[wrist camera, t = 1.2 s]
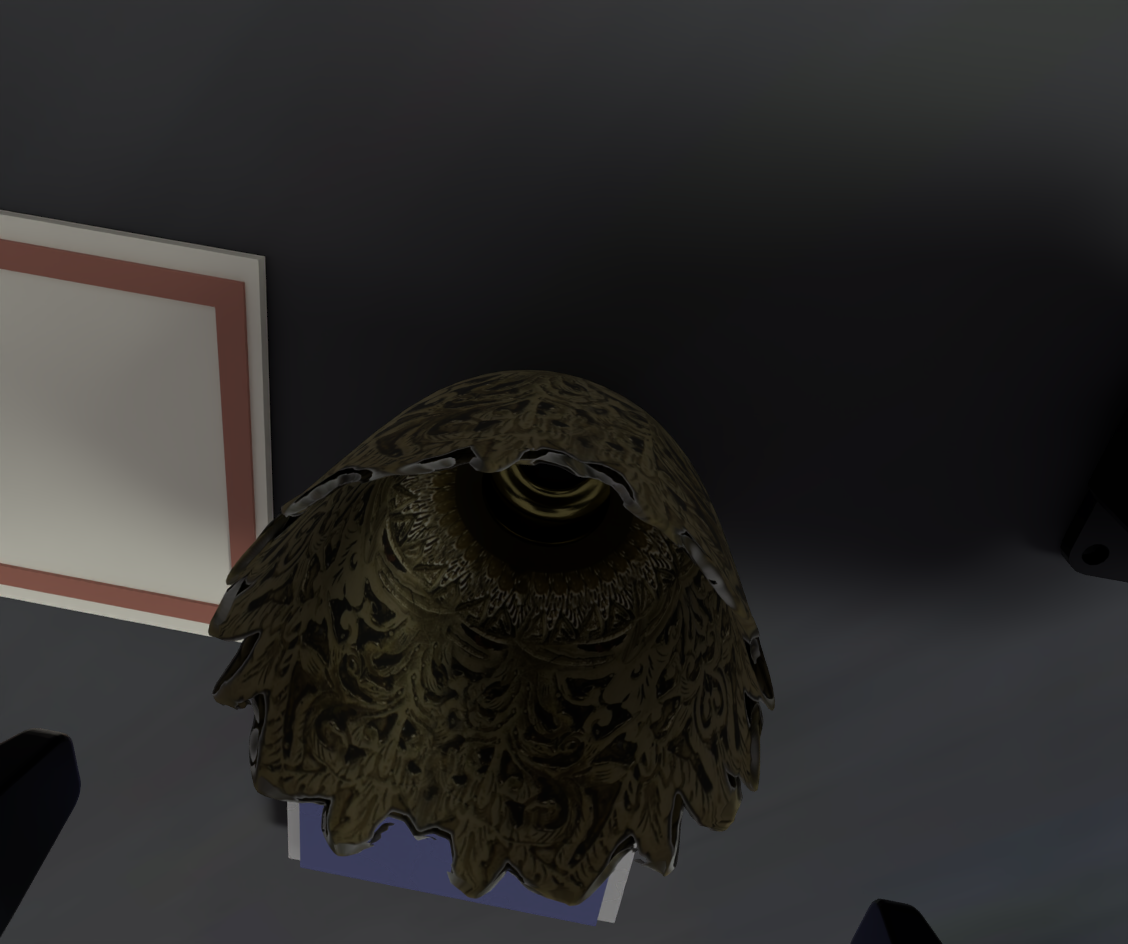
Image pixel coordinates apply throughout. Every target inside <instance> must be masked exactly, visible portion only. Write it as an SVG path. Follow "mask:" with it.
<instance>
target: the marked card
mask: <svg viewBox="0 0 1128 944" xmlns="http://www.w3.org/2000/svg"><path fill="white" fill-rule="evenodd" d="M272 520H273V489H272V458H271V426H270V394H269V363H268V331H267V299H266V268H265V256H260V255H254V254H249V253H243V252H237V251H232V250H226V249H220V248H215V247H209V246H203V245H198V244H192V243H186V242H181V241H175V240H169V239H164V238H158V237H152V236H147V235H141V234H135V233H130V232H124V231H118V230H113V229H107V228H101V227H96V226H90V225H84V224H79V223H73V222H67V221H62V220H56V219H50V218H45V217H39V216H33V215H28V214H22V213H16V212H11V211H5V210H0V596H2V597H7V598H12V599H18V600H23V601H28V602H33V603H38V604H44V605H49V606H54V607H59V608H65V609H70V610H75V611H80V612H85V613H91V614H96V615H101V616H106V617H111V618H117V619H122V620H127V621H132V622H138V623H143V624H148V625H153V626H158V627H164V628H169V629H174V630H179V631H184V632H190V633H195V634H200V635H205V636H210V635H209V634H208V629H209V625H210V621H211V619H212V617H213V616H214V614H215V612H216V610H217V608H218V606H219V604H220V602H221V600H222V598H223V596H224V594H225V592H226V590H227V589H228V588H229V587H230V586H231V585H227V584H226V579H227V576H228V574H229V572H230V571H231V569H232V568H233V566H234V565H235V564H236V562H237V561H238V560H239V559H240V557H241V556H242V555H243V554H244V553H245V552H246V550H247V549H248V548H249V547H250V546H251V545H252V544H253V543H254V542H255V540H256V539H257V538H258V536H259V535H260V534H261V533H262V531H263V530H264V529H265V527H266V526H267V525H268V524H269V523H270V522H271V521H272ZM211 637H212V636H211ZM243 640H244V639H242V640H238V641H237V642H242V641H243Z"/></svg>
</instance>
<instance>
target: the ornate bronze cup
mask: <svg viewBox="0 0 1128 944" xmlns="http://www.w3.org/2000/svg"><path fill="white" fill-rule="evenodd" d="M538 463H544V464H549V465H553V466H558V467H561V468H563V469H565V470H567V471H568V472H570V473H571V474H573V475H575V476H578V477H585V478H584V479H583V480H582V481H581V482H579V483H578V484H576V485H574V486H571V487H568V488H562V489H555V488H549V487H545V486H542V485H540V484H538V483H536V482H535V481H533V480H532V479H531V478H530V477H529V476H528V475H527V474H526V473H525V472H524V470H523V469H522V467H521V464H523V465H537V464H538ZM226 584H227V585H231V586H230V587H229V588H228V589H227V590H226V592H225V594H224V596H223V598H222V600H221V602H220V604H219V606H218V608H217V610H216V612H215V614H214V616H213V617H212V619H211V621H210V625H209V629H208V634H209V635H210V636H212V637H216V638H219V639H222V640H224V641H238V640H242V639H244V640H243V641H242V643H241V646H240V648H239V649H238V652H237V653H236V655H235V656H234V658H233V659H232V661H231V662H230V664H229V665H228V666H227V668H226V669H225V671H224V672H223V674H222V675H221V677H220V679H219V680H218V682H217V683H216V685H215V687H214V690H213V693H212V694H213V697H214V699H215V700H216V702H218V703H220V704H222V705H228V706H230V707H233V708H235V709H237V710H238V708H240V709H241V708H245V707H246V706H247V705H249V704H250V705H251V703H250V701H249V700H248V699H251V698H253V699H252V706H253V710H254V721H253V726H252V730H251V734H250V740H249V758H250V768H251V774H252V779H253V783H254V787H255V789H256V790H257V792H259V793H260V794H262V795H264V796H267V797H269V798H273V799H276V800H280V801H287V802H297V803H315V804H317V805H324V808H323V811H322V818H321V820H322V821H321V829H322V832H323V835H324V838H325V840H326V842H327V843H328V845H329V847H330V849H331V850H332V851H333V853H335V854H336V855H337V856H350V855H354V854H357V853H360V852H361V851H362V850H364V849H367V848H370V847H372V846H374V845H373V844H372V843H375V842H377V841H378V840H379V839H381V833H383V832H385V831H387V830H388V828H389V826H392V825H394V823H384V824H382V825H381V826H380V827H379V829H378V830H377V831H376V832H375V833H374V831H375V829H376V828H377V826H378V825H379V824H380V823H381V822H382V821H384V819H386V818H387V817H391V818H395V819H398V820H400V821H403V822H404V823H405V824H406V825H407V827H408V828H409V830H410V831H411V833H412V835H413V836H414V837H415V839H416V840H422V839H426V838H429V836H425V835H429V834H436V835H437V836H440V837H443V838H445V839H447V840H448V841H449V842H450V847H451V853H452V861H453V862H452V864H451V867H452V868H451V872H448V871H447V874H448V877H449V880H450V883H452V884H453V885H454V886H455V887H456V888H457V889H459V890H460V891H461V892H462V893H464V894H465V895H466V896H467V897H469V898H474V899H477V898H480V897H482V896H483V895H485V894H486V893H488V892H489V891H491V890H492V889H493V888H494V887H495V885H496V884H497V883H498V882H499V881H500V880H501V879H502V878H503V877H504V875H505V874H506V872H507V871H508V872H510V873H511V874H512V875H514V876H515V877H516V878H517V879H518V880H519V881H520V882H521V884H522V885H523V886H524V887H526V888H527V889H528V890H530V891H531V892H533V893H536V894H538V895H541V896H543V897H545V898H548V899H552V900H555V901H558V902H562V903H565V904H567V905H569V906H575V905H579V904H581V903H582V902H583V901H585V900H586V899H587V898H589V897H590V896H591V895H592V894H593V893H594V892H595V891H596V890H597V889H598V888H599V887H600V886H601V884H602V883H603V882H604V881H605V880H606V879H607V878H608V877H609V876H610V875H611V874H612V872H614V870H615V868H616V866H617V864H618V863H619V862H620V861H621V859H622V858H623V857H624V856H625V855H626V854H627V853H628V852H630V851H631V850H632V853H633V852H636V851H637V850H638V851H639V854H640V855H641V856H643V857H645V858H646V860H647V862H646V863H645V862H643V861H642V860H641V859H635V860H634V861H635V862H638V863H641V864H643V865H641V866H645V867H649V868H652V869H653V870H655V871H657V872H660V873H661V874H663V876H666V875H668V874H670V873H671V872H672V871H673V869H674V868H675V867H676V864H677V860H678V853H679V843H680V841H679V840H680V827H681V820H682V814H683V810H684V807H685V808H686V810H687V811H688V812H689V814H690V816H691V817H692V818H693V819H694V820H695V821H696V822H697V824H699V825H700V826H705V827H708V828H709V829H710V830H712V831H725V830H726V829H728V827H729V826H730V825H731V824H732V822H733V821H734V819H735V815H736V813H737V811H738V809H739V806H740V803H741V800H742V792H741V782H740V780H741V781H742V782H743V783H744V784H745V785H746V786H747V787H748V789H750V790H751V791H754V792H755V791H756V790H757V789H758V784H759V775H760V735H761V731H762V726H763V715H762V710H761V707H760V705H759V701H760V700H761V702H762V703H763V704H764V703H765V704H766V705H767V707H768V708H769V709H770V710H772V711H773V709H774V706H775V699H774V692H773V687H772V683H771V679H770V675H769V671H768V667H767V664H766V661H765V658H764V655H763V651H762V648H761V645H760V640H759V636H760V635H759V631H758V628H757V626H756V623H755V621H754V619H753V617H752V615H751V612H750V609H749V606H748V603H747V600H746V597H745V594H744V591H743V588H742V585H741V582H740V579H739V576H738V573H737V570H736V567H735V564H734V561H733V558H732V555H731V552H730V549H729V547H728V544H727V541H726V538H725V535H724V533H723V530H722V527H721V524H720V522H719V519H718V517H717V515H716V512H715V510H714V508H713V505H712V503H711V501H710V498H709V496H708V494H707V491H706V489H705V487H704V485H703V483H702V481H701V480H700V478H699V476H698V474H697V472H696V471H695V469H694V467H693V466H692V464H691V462H690V460H689V459H688V457H687V456H686V455H685V453H684V452H683V451H682V449H681V448H680V447H679V446H678V444H677V443H676V442H675V440H674V439H673V438H672V437H671V436H670V434H669V433H668V432H667V431H666V430H665V429H664V428H663V427H662V426H661V425H660V424H659V423H658V422H657V421H656V420H655V419H654V418H653V417H651V416H650V415H649V414H648V413H647V412H645V411H644V410H643V409H642V408H641V407H639V406H638V405H636V404H635V403H633V402H632V401H630V400H628V399H627V398H625V397H624V396H622V395H620V394H618V393H616V392H614V391H612V390H610V389H608V388H606V387H604V386H602V385H599V384H597V383H594V382H591V381H589V380H586V379H583V378H579V377H575V376H571V375H568V374H563V373H556V372H550V371H540V370H511V371H501V372H495V373H489V374H484V375H480V376H477V377H473V378H470V379H466V380H463V381H461V382H458V383H455V384H453V385H450V386H448V387H446V388H443V389H441V390H438V391H437V392H435V393H433V394H431V395H429V396H428V397H426V398H424V399H422V400H421V401H419V402H417V403H415V404H414V405H412V406H410V407H409V408H407V409H406V410H404V411H403V412H402V413H400V414H399V415H398V416H396V417H395V418H394V419H392V420H391V421H390V422H388V423H387V424H386V425H384V426H383V427H381V428H380V429H379V430H377V431H376V432H375V433H374V434H372V435H371V436H370V437H369V438H368V439H366V440H365V441H364V442H363V443H361V444H360V445H359V446H358V447H357V448H355V449H354V450H353V451H352V452H350V453H349V454H348V455H347V456H346V457H345V458H343V459H342V460H341V461H340V462H339V463H337V464H336V465H335V466H334V467H333V468H331V469H330V470H329V471H328V472H327V473H326V474H324V475H323V476H322V477H321V478H320V479H319V480H317V481H316V482H315V483H314V484H313V485H311V486H310V487H309V488H308V489H307V490H305V491H304V492H303V493H302V494H300V495H298V496H297V497H295V498H294V499H292V500H291V501H289V502H287V503H286V504H284V505H283V506H282V507H281V514H280V515H278V516H277V517H276V518H275V519H274V520H272V521H271V522H270V523H269V524H268V525H267V526H266V527H265V529H264V530H263V531H262V533H261V534H260V535H259V536H258V538H257V539H256V540H255V542H254V543H253V544H252V545H251V546H250V547H249V548H248V549H247V550H246V552H245V553H244V554H243V555H242V556H241V557H240V559H239V560H238V561H237V562H236V564H235V565H234V566H233V568H232V569H231V571H230V572H229V574H228V576H227V579H226ZM431 838H432V839H434V840H437V839H435V838H433V837H431ZM371 839H372V840H371ZM369 840H371V841H370V842H369V843H367V842H368V841H369ZM635 843H636V844H637V848H638V849H636V848H634V844H635ZM508 869H509V870H508Z"/></svg>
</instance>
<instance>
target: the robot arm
mask: <svg viewBox="0 0 1128 944" xmlns="http://www.w3.org/2000/svg"><path fill="white" fill-rule="evenodd" d="M1088 487H1089V491H1088V492H1087V494H1086V496H1085V498H1084V500H1083V502H1082V504H1081V506H1080V508H1079V510H1078V511H1077V513H1076V515H1075V517H1074V519H1073V521H1072V523H1071V525H1070V527H1069V529H1068V530H1067V532H1066V534H1065V536H1064V538H1063V540H1062V544H1061V547H1060V548H1061V552H1062V555H1063V557H1064V558H1065V559H1066V560H1067V562H1068V563H1069V564H1070V565H1071V567H1072V568H1073V569H1074V570H1075V571H1077V572H1079V573H1082V574H1085V575H1090V576H1096V577H1101V578H1106V579H1112V580H1117V581H1123V582H1128V408H1127V409H1126V411H1125V413H1124V415H1123V417H1122V419H1121V421H1120V423H1119V425H1118V427H1117V429H1116V430H1115V432H1114V434H1113V436H1112V438H1111V440H1110V442H1109V444H1108V446H1107V448H1106V450H1105V451H1104V453H1103V455H1102V457H1101V459H1100V461H1099V463H1098V465H1097V467H1096V469H1095V470H1094V472H1093V474H1092V476H1091V478H1090V480H1089V483H1088ZM1094 544H1099V547H1098V548H1097V549H1096V550H1095V551H1094V552H1092V553H1089V554H1083V552H1084V551H1085V550H1086V548H1087V547H1090V546H1092V545H1094ZM80 787H81V781H80V776H79V771H78V766H77V761H76V756H75V751H74V747H73V742H72V740H71V738H70V737H69V736H68V735H67V734H64V733H60V732H55V731H50V730H45V729H40V728H33V729H28V730H25V731H23V732H21V733H19V734H17V735H15V736H13V737H11V738H10V739H8V740H6V741H4V742H2V743H0V937H1V936H2V934H3V932H4V930H5V929H6V927H7V925H8V924H9V922H10V920H11V919H12V917H13V915H14V913H15V912H16V910H17V908H18V906H19V905H20V903H21V901H22V899H23V897H24V896H25V894H26V892H27V890H28V889H29V887H30V885H31V883H32V881H33V880H34V878H35V876H36V874H37V873H38V871H39V869H40V867H41V865H42V864H43V862H44V860H45V858H46V857H47V855H48V853H49V851H50V849H51V848H52V846H53V844H54V842H55V841H56V839H57V837H58V835H59V833H60V832H61V830H62V828H63V826H64V825H65V823H66V821H67V819H68V817H69V816H70V814H71V812H72V810H73V809H74V807H75V805H76V802H77V800H78V797H79V793H80ZM851 944H942V942H941V941H940V940H939V938H938V937H937V935H936V934H935V933H934V931H933V930H932V928H931V927H930V926H929V924H928V923H927V921H926V920H925V918H924V917H923V916H922V914H921V913H920V912H919V911H918V910H917V909H916V908H914V907H913V906H911V905H908V904H905V903H900V902H895V901H890V900H885V899H877V900H875V901H873V902H872V904H871V905H870V907H869V908H868V910H867V912H866V914H865V916H864V918H863V920H862V922H861V924H860V926H859V927H858V929H857V931H856V933H855V935H854V937H853V939H852V941H851Z"/></svg>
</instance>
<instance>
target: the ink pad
mask: <svg viewBox="0 0 1128 944" xmlns="http://www.w3.org/2000/svg"><path fill="white" fill-rule="evenodd" d="M323 808H324V805H317V804H315V803H297V802H287V813H288V850H289V858H292V859H297V860H300V867H302V868H307V869H312V870H317V871H322V872H327V873H332V874H337V875H342V876H347V877H352V878H357V879H362V880H367V881H372V882H377V883H382V884H387V885H392V886H397V887H402V888H407V889H412V890H417V891H422V892H427V893H432V894H437V895H442V896H447V897H452V898H457V899H462V900H467V901H472V902H477V903H482V904H487V905H492V906H497V907H502V908H507V909H512V910H517V911H522V912H527V913H532V914H537V915H541V916H546V917H551V918H556V919H561V920H566V921H571V922H576V923H581V924H586V925H591V926H596V923H597V920H602V921H607V922H612V923H615V919H616V916H617V912H618V909H619V905H620V902H621V898H622V895H623V891H624V888H625V884H626V881H627V877H628V874H629V870H630V867H631V863H632V860H633V857H634V853H635V852H633V853H632V850H631V851H630V852H628V853H627V854H626V855H625V856H624V857H623V858H622V859H621V861H620V862H619V863H618V864H617V866H616V868H615V870H614V872H612V874H611V875H610V876H609V877H608V878H607V879H606V880H605V881H604V882H603V883H602V884H601V886H600V887H599V888H598V889H597V890H596V891H595V892H594V893H593V894H592V895H591V896H590V897H589V898H587V899H586V900H585V901H583V902H582V903H581V904H579V905H575V906H569V905H567V904H565V903H562V902H558V901H555V900H552V899H548V898H545V897H543V896H541V895H538V894H536V893H533V892H531V891H530V890H528V889H527V888H526V887H524V886H523V885H522V884H521V882H520V881H519V880H518V879H517V878H516V877H515V876H514V875H512V874H511V873H510V872H508V871H507V872H506V874H505V875H504V877H503V878H502V879H501V880H500V881H499V882H498V883H497V884H496V885H495V887H494V888H493V889H492V890H491V891H489V892H488V893H486V894H485V895H483V896H482V897H480V898H477V899H474V898H469V897H467V896H466V895H465V894H464V893H462V892H461V891H460V890H459V889H457V888H456V887H455V886H454V885H453V884H452V883H450V880H449V877H448V874H447V871H448V872H451V868H452V867H451V864H452V862H453V861H452V853H451V847H450V842H449V841H448V840H447V839H445V838H443V837H440V836H437V835H436V834H429V835H425V836H429V838H426V839H422V840H416V839H415V837H414V836H413V835H412V833H411V831H410V830H409V828H408V827H407V825H406V824H405V823H404V822H403V821H400V820H398V819H395V818H391V817H387V818H386V819H384V821H382V822H381V823H380V824H379V825H378V826H377V828H376V829H375V831H374V833H375V832H376V831H377V830H378V829H379V827H380V826H381V825H382V824H384V823H394V825H392V826H389V828H388V830H387V831H385V832H383V833H381V839H379V840H378V841H377V842H375V843H372V844H373V845H374V846H372V847H370V848H367V849H364V850H362V851H361V852H360V853H357V854H354V855H350V856H337V855H336V854H335V853H333V851H332V850H331V849H330V847H329V845H328V843H327V842H326V840H325V838H324V835H323V832H322V829H321V821H322V820H321V818H322V811H323ZM431 837H433V838H435V839H437V840H434V839H432V838H431ZM371 840H372V839H371ZM371 840H369V841H368V842H367V843H369V842H370V841H371ZM636 846H637V844H636V843H635V844H634V848H636ZM508 870H509V869H508Z"/></svg>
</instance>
